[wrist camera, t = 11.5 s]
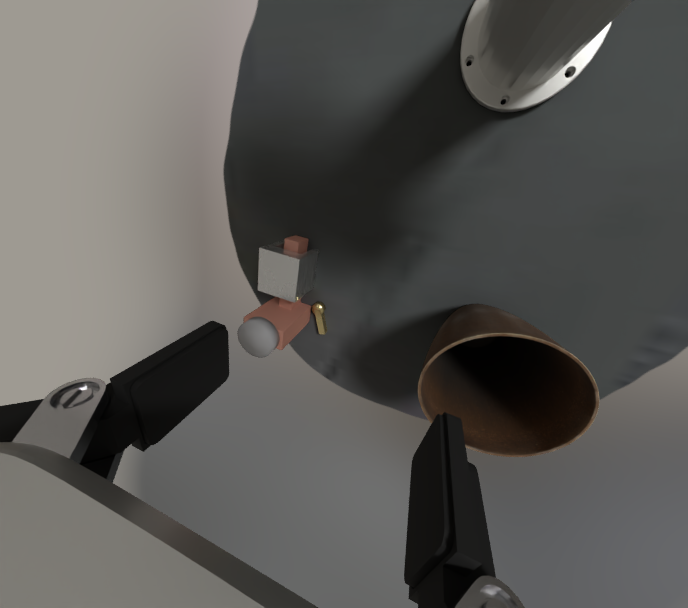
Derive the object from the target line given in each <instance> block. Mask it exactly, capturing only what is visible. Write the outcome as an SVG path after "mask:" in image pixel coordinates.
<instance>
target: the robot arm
mask: <svg viewBox="0 0 688 608" xmlns="http://www.w3.org/2000/svg"><path fill="white" fill-rule="evenodd" d="M632 1H633V0H475V2H474V4H473V6H472V8H471V11H470V13H469V16H468V19H467V21H466V24H465V28H464V32H463V37H462V43H461V49H460V67H461V73H462V78H463V81H464V83H465V86H466V88H467V90H468V92H469V93H470V95H471V96H472V97H473V99H475V100H476V101H477V102H478V103H479V104H480V105H482V106H484V107H486V108H488V109H490V110H494V111H499V112H516V111H521V110H525V109H529V108H531V107H534V106H536V105H539V104H541V103H543V102H544V101H546V100H548V99H549V98H551V97H553V96H554V95H556V94H557V93H558V92H560V91H561V90H562V89H564V88H565V87H566V86H567V85H568V84H570V83H571V82H572V81H573V80H574V79H575V78H576V77H577V76H578V75H579V74H580V73H581V72H582V71H583V69H584V68H585V67H586V66H587V65H588V64H589V63H590V61H591V60H592V59H593V57H594V56H595V54H596V53H597V51H598V50H599V48H600V47H601V45H602V43H603V41H604V39H605V37H606V35H607V33H608V31H609V29H610V27H611V25H612V22H613V20H614V19H615V18H616V17H617V16H618V15H619V14H620V13H621V12H622V11H623V10H624V9H625V8H626V7H627V6H628V5H629V4H630V3H631V2H632ZM468 62H471V65H470V66H467V65H466V64H467V63H468ZM565 73H568V74H569V76H568V78H566V77H565V75H564V74H565ZM502 100H504V101H505V104H504V105H501V101H502ZM228 350H229V349H228V331H227V330H226V327H225V325H222V324H220V323H217V322H215V321H210V322H208V323H206V324H205V325H203V326H201V327H199V328H198V329H196V330H194V331H192V332H191V333H189V334H187V335H185V336H184V337H182V338H180V339H179V340H177V341H175V342H173V343H171V344H170V345H168V346H166V347H164V348H163V349H161V350H159V351H157V352H156V353H154V354H152V355H151V356H149V357H147V358H145V359H143V360H142V361H140V362H138V363H137V364H135V365H133V366H131V367H129V368H128V369H126V370H124V371H122V372H121V373H119V374H117V375H115V376H114V377H112V378H110V381H111V383H109V384H107V385H106V384H105V382H104V381H102V380H101V379H96V378H84V379H79V380H75V381H72V382H69V383H66V384H64V385H62V386H60V387H58V388H57V389H55V390H53V391H52V392H51V393H49V394H48V395H47V397H45V399H41V400H35V401H29V402H23V403H17V404H11V405H5V406H0V608H318V607H316V606H315V605H313V604H312V603H310V602H308V601H306V600H305V599H303V598H302V597H300V596H298V595H297V594H295V593H294V592H292V591H290V590H289V589H287V588H285V587H284V586H282V585H280V584H279V583H277V582H275V581H274V580H272V579H271V578H269V577H267V576H266V575H264V574H262V573H260V572H259V571H258V570H256V569H254V568H253V567H251V566H249V565H248V564H246V563H244V562H243V561H241V560H240V559H238V558H236V557H234V556H233V555H231V554H230V553H228V552H226V551H225V550H223V549H221V548H220V547H218V546H216V545H215V544H213V543H211V542H210V541H208V540H206V539H205V538H203V537H202V536H200V535H198V534H197V533H195V532H193V531H192V530H190V529H188V528H186V527H185V526H183V525H182V524H180V523H178V522H176V521H175V520H173V519H172V518H170V517H168V516H167V515H165V514H163V513H162V512H160V511H158V510H157V509H155V508H153V507H152V506H150V505H148V504H147V503H145V502H143V501H142V500H140V499H138V498H137V497H135V496H133V495H132V494H130V493H128V492H127V491H125V490H123V489H122V488H120V487H118V486H116V485H115V484H113V480H114V478H115V475H116V472H117V469H118V466H119V464H120V461H121V458H122V455H123V452H124V450H125V448H127V447H128V446H129V445H130V444H132V446H134V447H136V448H137V449H139V450H141V451H145V450H146V449H147V448H148V447H149V446H150V445H154V444H156V443H158V442H159V441H160V440H161V439H162V438H163V437H164V436H166V434H168V433H169V432H170V431H171V430H172V429H173V428H174V427H175V426H177V425H178V424H179V423H180V422H181V421H182V420H183V419H184V418H185V417H186V416H188V415H189V414H190V413H191V412H192V411H193V410H194V409H195V408H196V407H197V406H199V405H200V404H201V403H202V402H203V401H204V400H205V399H206V398H207V397H208V396H210V395H211V394H212V393H213V392H214V391H215V390H216V389H217V388H218V387H220V386H221V384H223V383H224V382H225V381H226V380H227V378H228V376H229V351H228ZM410 483H411V484H410V497H409V513H408V526H407V542H406V556H405V571H404V579H405V583H406V584H408V585H409V599H410V600H412V601H414V602H415V603H417V604H418V608H525V607H524V606H523V604H522V603H521V601H520V600H519V598H518V597H517V596H516V595H515V594H514V592H513V591H512V590H511V589H510V588H509V587H508V586H507V585H505V584H504V583H503V582H502V581H500V580H499V579H497V578H496V576H495V570H494V564H493V558H492V552H491V547H490V541H489V535H488V529H487V523H486V518H485V512H484V506H483V501H482V494H481V489H480V483H479V477H478V473H477V469H476V467H475V466H474V465H473V464H471V463H469V462H468V461H467V454H466V447H465V440H464V433H463V425H462V420H461V418H459V417H456V416H454V415H451V414H448V413H446V412H444V413H443V414H442V415H440V414H437V415H436V417H435V419H434V421H433V422H432V424H431V426H430V428H429V430H428V431H427V433H426V435H425V437H424V438H423V440H422V442H421V444H420V445H419V447H418V449H417V451H416V452H415V454H414V457H413V460H412V468H411V482H410Z"/></svg>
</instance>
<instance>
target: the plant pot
mask: <svg viewBox="0 0 688 608" xmlns="http://www.w3.org/2000/svg"><path fill="white" fill-rule="evenodd" d="M418 398H419V402H420V405H421V408H422V410H423V412H424V414H425V415H426V417H427V418H428V420H429V421H430V422H431V423H432V422H433V421H434V419H435V417H436V415H437V414H440V415H442V414H443V413H444V412H446V413H448V414H451V415H454V416H456V417H459V418H461V420H462V425H463V433H464V440H465V447H467V448H469V449H472V450H475V451H478V452H482V453H487V454H491V455H497V456H506V457H527V456H535V455H541V454H545V453H549V452H552V451H555V450H558V449H560V448H562V447H565V446H567V445H569V444H570V443H572V442H574V441H575V440H576V439H578V438H579V437H580V436H582V435H583V434H584V433H585V432H586V431H587V430H588V429H589V427H590V426H591V424H592V423H593V421H594V419H595V417H596V415H597V412H598V408H599V391H598V388H597V385H596V382H595V380H594V378H593V376H592V375H591V373H590V371H589V370H588V369H587V368H586V367H585V365H584V364H583V363H582V362H581V361H580V360H578V359H577V358H576V357H575V356H574V355H572V354H571V353H570V352H568V351H567V350H566V349H564V348H563V347H562V346H560V345H559V344H558V343H557V342H555V341H554V340H553V339H551V338H550V337H549V336H547V335H546V334H544V333H543V332H542V331H540V330H539V329H537V328H535V327H534V326H532V325H531V324H529V323H527V322H526V321H524V320H522V319H520V318H518V317H516V316H514V315H512V314H510V313H508V312H506V311H503V310H501V309H498V308H495V307H492V306H488V305H483V304H469V305H465V306H463V307H461V308H459V309H457V310H456V311H455V312H453V313H452V314H451V315H450V316H449V317H448V318H447V320H446V321H445V322H444V323H443V325H442V326H441V328H440V329H439V331H438V332H437V334H436V336H435V338H434V340H433V342H432V344H431V346H430V348H429V351H428V353H427V356H426V358H425V361H424V364H423V368H422V371H421V375H420V378H419V383H418Z"/></svg>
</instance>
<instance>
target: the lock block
mask: <svg viewBox="0 0 688 608" xmlns="http://www.w3.org/2000/svg"><path fill="white" fill-rule="evenodd" d="M284 242H285V240H283V241H279V242H276V243H273V244H269V245H266V246H263V247H259V270H258V291H261V292H264V293H267V294H270V295H273V296H276V297H279V298H282V299H285V300H288V301H291V302H294V303H295V302H296V301H298V300H299V299H300V298H302V297H303V296H304V295H305V294H307V293H308V292H309V291H310V290H312V289H313V288H314V282H315V275H316V268H317V261H318V255H319V250H317V249H312V250H310V251H307V252H305V253H303V254H300V253H297V252H293V251H290V250H286V249H284Z"/></svg>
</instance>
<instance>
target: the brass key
mask: <svg viewBox="0 0 688 608" xmlns="http://www.w3.org/2000/svg"><path fill="white" fill-rule="evenodd" d="M324 311H325V305H324V304H323V303H322V302H316V303H315V304H314V305H313V306H312V312H313V313H314V314H315V316H316V321H317V326H318V331H319V334H325V333H326V332H327V327H326V321H325V316H324Z"/></svg>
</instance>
